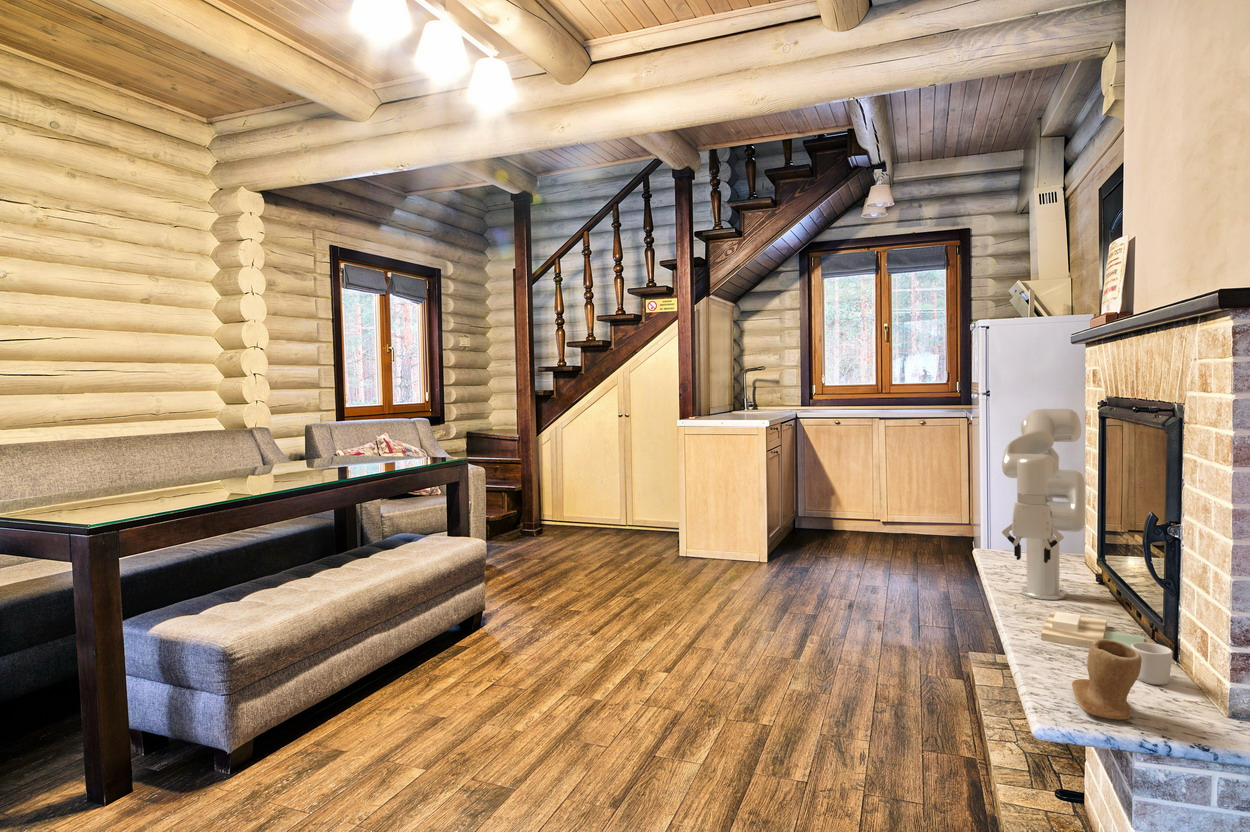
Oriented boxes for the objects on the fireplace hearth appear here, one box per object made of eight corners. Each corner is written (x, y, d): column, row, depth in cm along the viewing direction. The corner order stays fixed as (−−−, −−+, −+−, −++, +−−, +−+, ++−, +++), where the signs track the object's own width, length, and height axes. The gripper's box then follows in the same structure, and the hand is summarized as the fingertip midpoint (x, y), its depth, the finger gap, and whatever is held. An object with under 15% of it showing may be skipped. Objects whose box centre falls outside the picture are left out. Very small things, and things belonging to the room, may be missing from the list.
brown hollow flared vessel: (1146, 729, 147) (1146, 657, 146) (1078, 718, 152) (1078, 649, 151) (1133, 699, 160) (1133, 633, 159) (1070, 690, 165) (1070, 627, 165)
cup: (1137, 668, 177) (1137, 636, 177) (1177, 676, 171) (1177, 644, 171) (1127, 681, 169) (1127, 648, 169) (1169, 691, 164) (1169, 656, 163)
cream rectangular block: (1056, 618, 209) (1056, 611, 209) (1080, 621, 205) (1080, 614, 205) (1052, 627, 201) (1052, 620, 201) (1077, 631, 197) (1077, 624, 197)
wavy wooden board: (1051, 618, 215) (1051, 611, 215) (1106, 626, 206) (1106, 619, 206) (1041, 639, 197) (1041, 632, 197) (1101, 650, 189) (1101, 642, 189)
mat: (1105, 632, 202) (1105, 630, 202) (1144, 638, 196) (1144, 636, 196) (1101, 652, 187) (1101, 650, 187) (1143, 659, 182) (1143, 657, 182)
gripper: (1068, 499, 204) (1068, 561, 205) (1001, 495, 215) (1001, 554, 216) (1065, 503, 198) (1065, 567, 199) (996, 499, 209) (996, 559, 210)
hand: (1032, 559), depth 207 cm, fingers open, 6 cm apart
